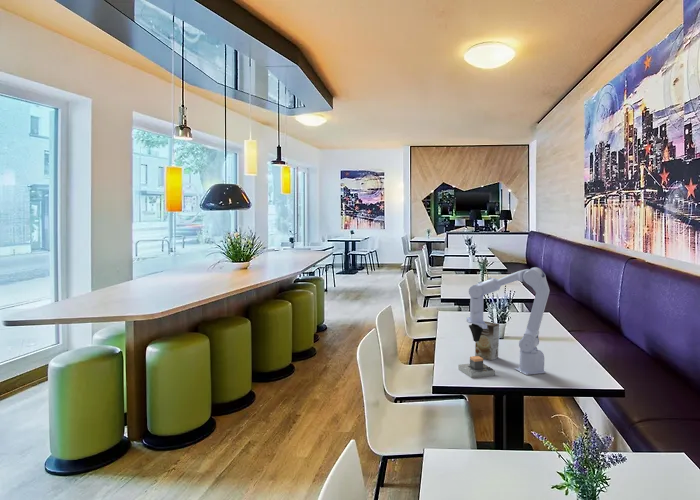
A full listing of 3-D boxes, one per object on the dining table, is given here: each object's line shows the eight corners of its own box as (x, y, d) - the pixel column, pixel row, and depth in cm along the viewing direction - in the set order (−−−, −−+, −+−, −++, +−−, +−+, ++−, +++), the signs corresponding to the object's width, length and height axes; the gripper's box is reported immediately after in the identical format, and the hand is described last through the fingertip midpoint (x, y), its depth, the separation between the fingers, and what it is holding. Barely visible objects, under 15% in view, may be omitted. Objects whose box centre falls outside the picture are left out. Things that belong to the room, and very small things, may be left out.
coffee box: (474, 356, 225) (474, 322, 223) (480, 353, 229) (481, 320, 228) (492, 360, 218) (493, 326, 217) (499, 357, 223) (499, 323, 222)
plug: (478, 369, 205) (478, 355, 205) (483, 372, 202) (483, 358, 201) (469, 370, 204) (469, 356, 204) (474, 373, 200) (474, 359, 200)
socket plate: (481, 366, 210) (481, 361, 209) (495, 375, 199) (495, 369, 199) (458, 369, 207) (458, 363, 207) (471, 377, 196) (471, 372, 196)
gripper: (460, 308, 220) (460, 337, 221) (477, 315, 206) (476, 346, 207) (474, 307, 222) (474, 336, 223) (491, 313, 208) (491, 344, 209)
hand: (476, 341), depth 215 cm, fingers closed
